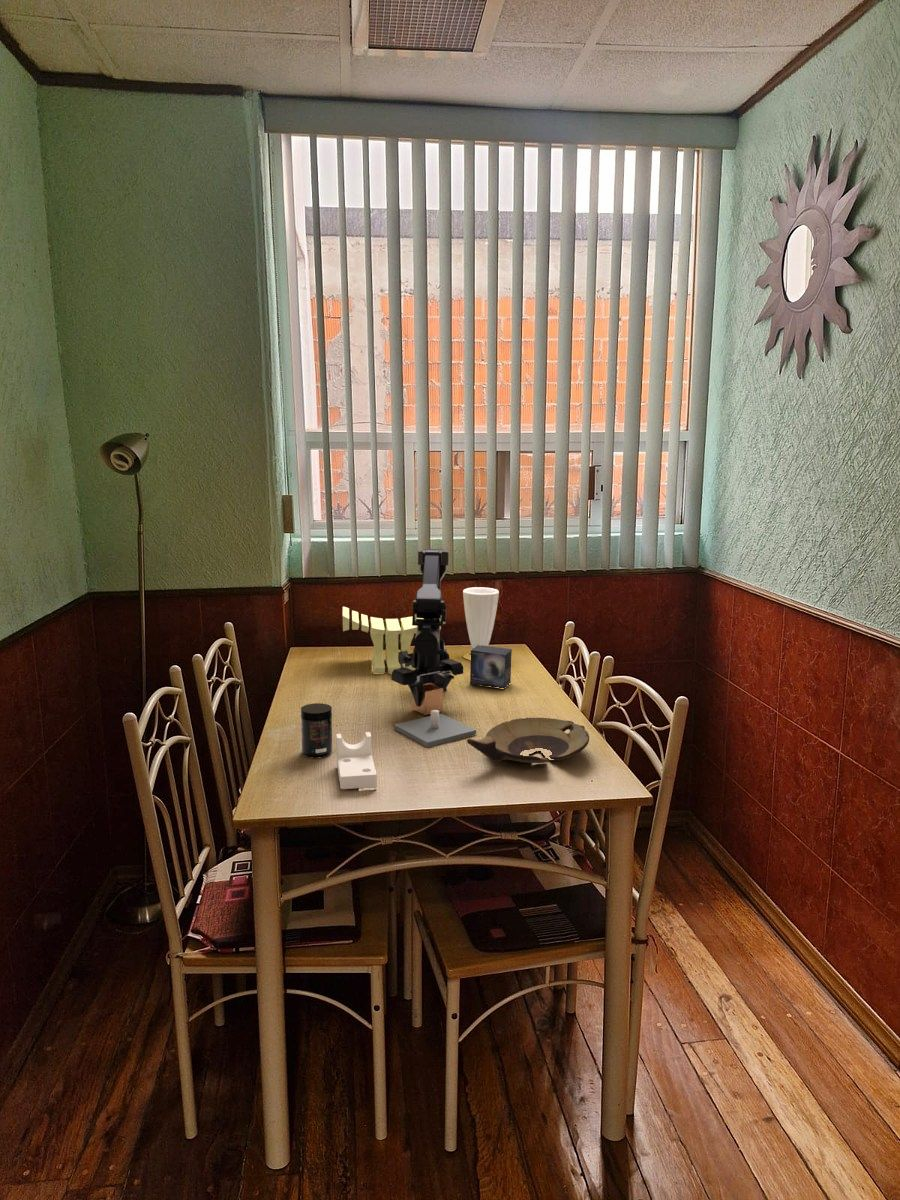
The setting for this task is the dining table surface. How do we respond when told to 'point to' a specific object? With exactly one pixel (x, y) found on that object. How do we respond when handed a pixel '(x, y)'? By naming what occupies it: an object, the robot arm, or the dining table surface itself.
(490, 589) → the cup
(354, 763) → the bracket
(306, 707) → the supplement container
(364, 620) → the slatted curved stool
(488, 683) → the small box
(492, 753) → the oil lamp
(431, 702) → the hollow wooden cube
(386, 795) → the dining table surface
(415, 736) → the stand
